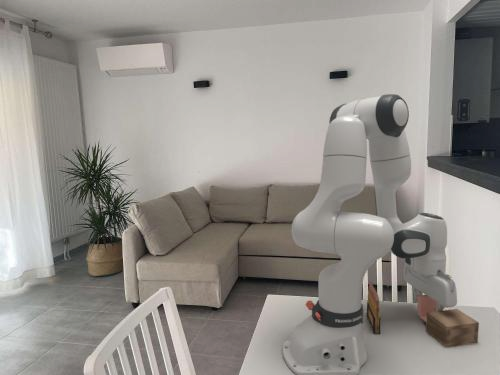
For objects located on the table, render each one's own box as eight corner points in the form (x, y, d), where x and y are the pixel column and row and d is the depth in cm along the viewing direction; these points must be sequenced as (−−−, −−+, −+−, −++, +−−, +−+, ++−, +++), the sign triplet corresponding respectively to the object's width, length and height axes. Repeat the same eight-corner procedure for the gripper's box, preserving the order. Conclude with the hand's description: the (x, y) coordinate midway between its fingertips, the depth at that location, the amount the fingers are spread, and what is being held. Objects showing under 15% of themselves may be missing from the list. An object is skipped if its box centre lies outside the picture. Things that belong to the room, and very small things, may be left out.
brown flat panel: (366, 315, 113) (367, 280, 111) (372, 316, 113) (373, 280, 111) (373, 334, 102) (374, 295, 101) (380, 334, 102) (381, 296, 100)
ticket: (448, 339, 96) (449, 317, 96) (417, 315, 110) (418, 295, 109) (467, 336, 97) (468, 314, 96) (434, 313, 111) (435, 293, 110)
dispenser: (445, 347, 95) (446, 326, 94) (426, 331, 103) (426, 312, 102) (477, 342, 96) (478, 322, 96) (456, 327, 104) (457, 308, 103)
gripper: (464, 277, 97) (461, 323, 99) (417, 253, 117) (416, 292, 119) (444, 279, 96) (442, 325, 98) (400, 255, 116) (399, 294, 118)
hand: (427, 307), depth 109 cm, fingers open, 8 cm apart
